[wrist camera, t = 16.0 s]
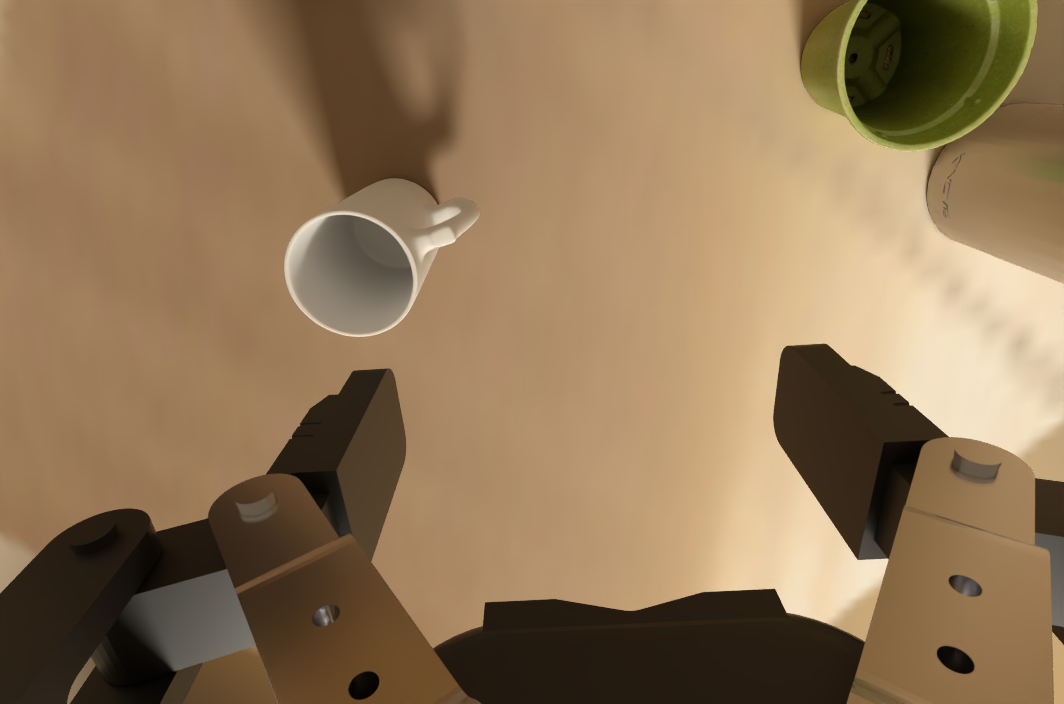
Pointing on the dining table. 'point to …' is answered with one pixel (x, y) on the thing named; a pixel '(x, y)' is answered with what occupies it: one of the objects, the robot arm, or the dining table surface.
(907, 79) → the plant pot
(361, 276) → the mug
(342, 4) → the dining table surface
